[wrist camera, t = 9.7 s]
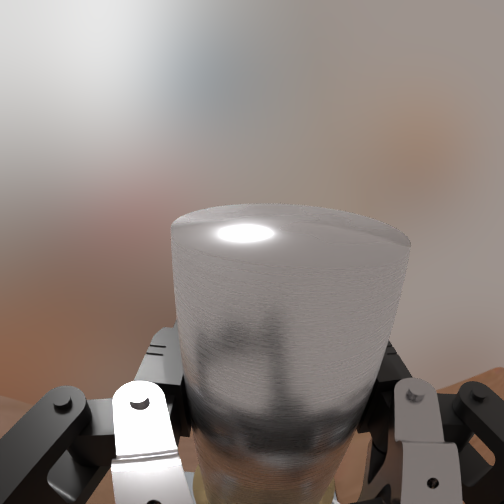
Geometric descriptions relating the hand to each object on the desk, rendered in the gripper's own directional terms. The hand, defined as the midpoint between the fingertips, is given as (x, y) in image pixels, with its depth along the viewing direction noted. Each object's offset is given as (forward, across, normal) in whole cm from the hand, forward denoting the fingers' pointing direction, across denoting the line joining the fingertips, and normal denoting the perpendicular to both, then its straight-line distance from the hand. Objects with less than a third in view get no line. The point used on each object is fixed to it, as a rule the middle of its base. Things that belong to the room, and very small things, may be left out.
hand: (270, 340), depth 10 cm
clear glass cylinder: (-3, 0, +7) cm, 8 cm away
